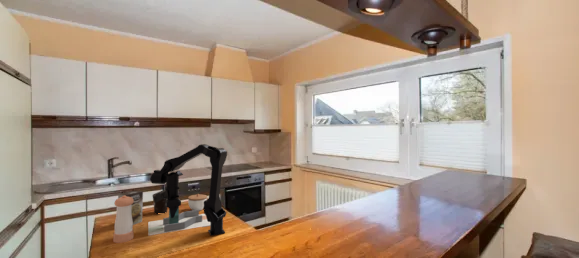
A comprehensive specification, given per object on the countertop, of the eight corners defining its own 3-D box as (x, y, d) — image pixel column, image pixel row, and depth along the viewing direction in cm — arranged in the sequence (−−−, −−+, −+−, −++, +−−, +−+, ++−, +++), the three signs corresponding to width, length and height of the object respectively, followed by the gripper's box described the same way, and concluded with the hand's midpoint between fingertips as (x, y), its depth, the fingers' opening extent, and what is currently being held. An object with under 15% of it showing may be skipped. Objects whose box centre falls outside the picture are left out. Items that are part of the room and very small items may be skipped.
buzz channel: (219, 225, 128) (220, 217, 128) (148, 237, 112) (148, 228, 112) (211, 214, 144) (211, 207, 144) (148, 223, 128) (148, 216, 128)
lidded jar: (210, 207, 155) (210, 192, 155) (199, 213, 145) (199, 196, 145) (195, 206, 158) (195, 191, 158) (184, 211, 148) (184, 195, 148)
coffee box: (126, 228, 120) (126, 195, 121) (116, 226, 122) (117, 193, 123) (142, 222, 129) (143, 190, 129) (133, 220, 131) (134, 189, 131)
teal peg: (178, 225, 122) (178, 204, 122) (169, 226, 120) (169, 205, 120) (177, 222, 126) (177, 202, 126) (168, 223, 124) (169, 203, 124)
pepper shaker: (111, 239, 108) (112, 195, 108) (131, 234, 113) (131, 192, 113) (115, 245, 103) (116, 198, 103) (135, 239, 108) (136, 195, 108)
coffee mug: (154, 210, 147) (154, 193, 147) (170, 209, 150) (170, 192, 150) (149, 217, 136) (149, 199, 136) (166, 215, 139) (167, 197, 139)
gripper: (153, 182, 127) (152, 213, 127) (154, 190, 111) (153, 225, 110) (177, 180, 132) (176, 210, 132) (181, 187, 116) (180, 221, 116)
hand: (171, 216), depth 122 cm, fingers closed on teal peg, 4 cm apart
